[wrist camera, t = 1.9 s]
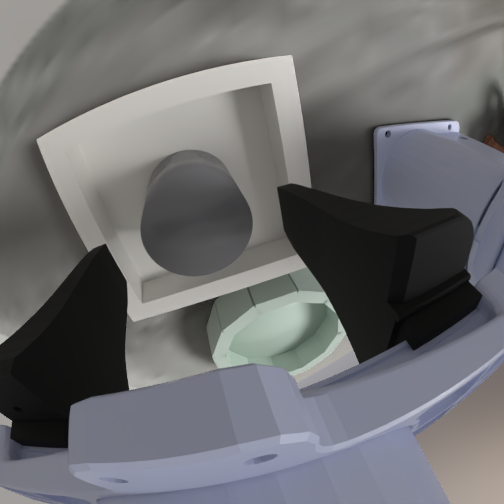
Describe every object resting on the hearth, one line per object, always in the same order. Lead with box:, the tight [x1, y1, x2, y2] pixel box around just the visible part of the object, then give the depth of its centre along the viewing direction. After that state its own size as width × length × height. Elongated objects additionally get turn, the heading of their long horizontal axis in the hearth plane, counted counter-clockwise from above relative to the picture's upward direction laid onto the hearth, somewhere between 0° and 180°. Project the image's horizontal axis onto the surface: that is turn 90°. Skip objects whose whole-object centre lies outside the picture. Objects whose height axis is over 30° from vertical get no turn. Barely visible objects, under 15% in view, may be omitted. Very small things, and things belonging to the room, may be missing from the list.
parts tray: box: [37, 55, 311, 322], centre depth 14 cm, size 12×12×3 cm
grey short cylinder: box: [140, 150, 253, 276], centre depth 13 cm, size 5×5×4 cm
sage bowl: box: [206, 267, 346, 376], centre depth 22 cm, size 11×11×3 cm
